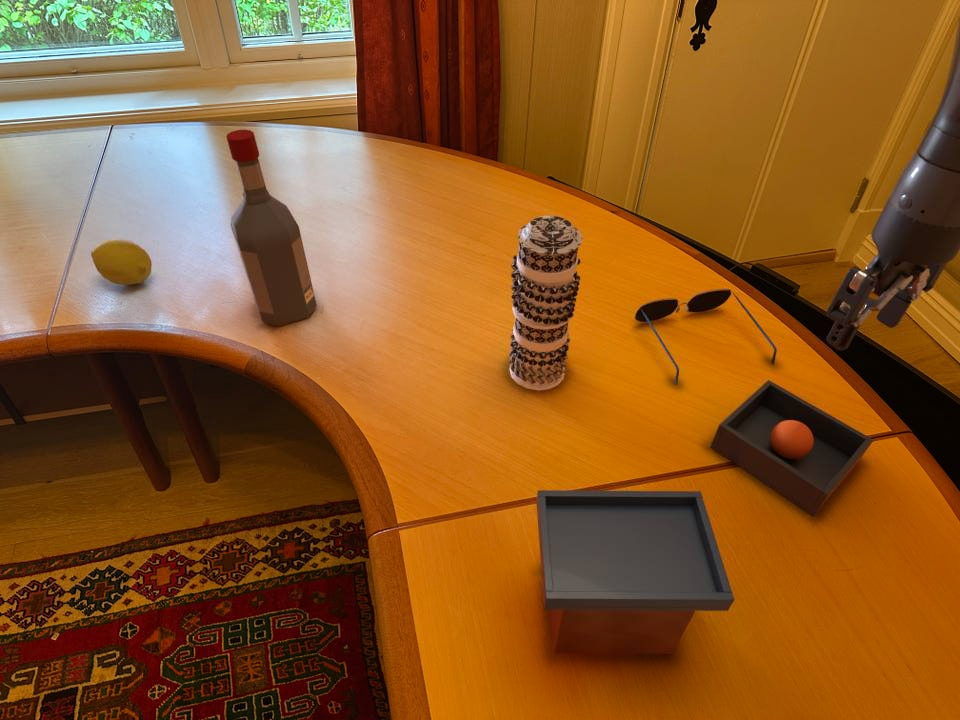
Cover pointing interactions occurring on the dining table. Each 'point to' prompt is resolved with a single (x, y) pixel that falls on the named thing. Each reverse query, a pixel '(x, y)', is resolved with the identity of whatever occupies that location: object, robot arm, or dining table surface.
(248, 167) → the liquor
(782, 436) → the ball
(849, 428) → the bin
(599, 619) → the stand
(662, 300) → the sunglasses
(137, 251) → the lemon
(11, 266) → the dining table surface
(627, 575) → the tray
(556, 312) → the decorative candle
